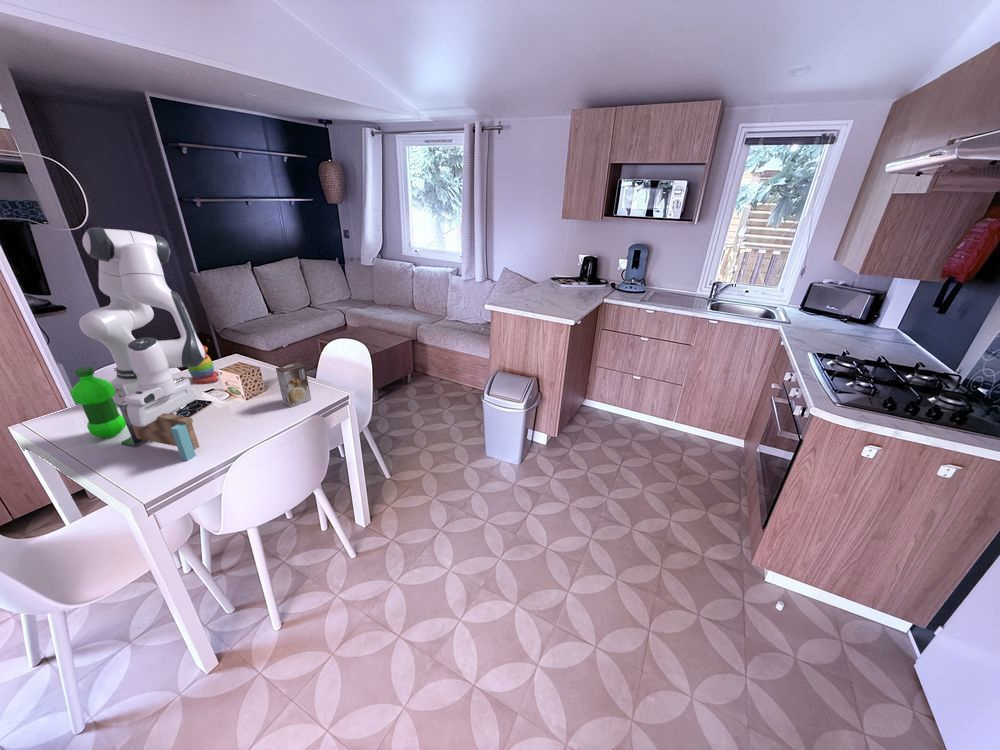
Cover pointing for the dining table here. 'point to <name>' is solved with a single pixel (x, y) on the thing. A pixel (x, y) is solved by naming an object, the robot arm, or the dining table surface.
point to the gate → (165, 430)
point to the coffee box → (293, 384)
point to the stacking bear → (204, 371)
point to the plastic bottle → (97, 404)
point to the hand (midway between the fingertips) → (171, 424)
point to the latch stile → (183, 441)
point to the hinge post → (130, 430)
